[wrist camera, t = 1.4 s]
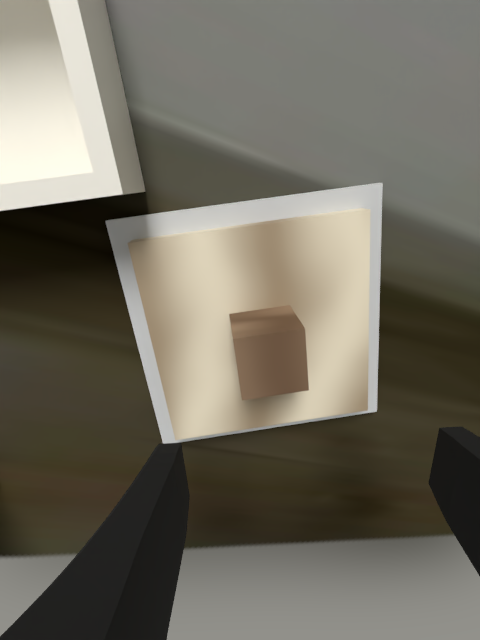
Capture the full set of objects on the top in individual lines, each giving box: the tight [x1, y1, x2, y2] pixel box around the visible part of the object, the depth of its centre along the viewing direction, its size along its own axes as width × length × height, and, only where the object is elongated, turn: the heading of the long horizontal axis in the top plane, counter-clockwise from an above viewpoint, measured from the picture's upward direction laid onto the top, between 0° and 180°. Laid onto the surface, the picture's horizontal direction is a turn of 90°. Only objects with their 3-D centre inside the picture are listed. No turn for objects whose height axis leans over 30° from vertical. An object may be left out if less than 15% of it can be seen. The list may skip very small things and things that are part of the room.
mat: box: [105, 183, 383, 444], centre depth 19 cm, size 13×13×1 cm
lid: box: [128, 208, 370, 440], centre depth 17 cm, size 11×11×4 cm
